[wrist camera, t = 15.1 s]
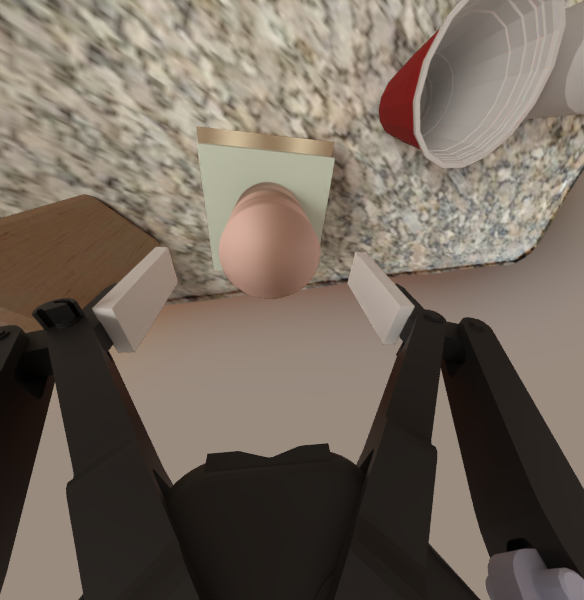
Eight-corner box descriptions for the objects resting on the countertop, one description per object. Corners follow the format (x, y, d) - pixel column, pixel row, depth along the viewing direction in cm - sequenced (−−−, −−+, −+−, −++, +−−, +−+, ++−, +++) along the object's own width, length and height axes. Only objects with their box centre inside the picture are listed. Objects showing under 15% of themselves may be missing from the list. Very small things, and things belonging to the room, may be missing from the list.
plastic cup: (419, 168, 29) (494, 181, 20) (346, 149, 27) (389, 153, 18) (473, 53, 23) (620, -11, 14) (383, 17, 21) (481, -87, 12)
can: (456, 96, 25) (573, 67, 16) (520, 8, 22) (724, -99, 12) (489, 136, 28) (607, 133, 18) (551, 64, 24) (738, 13, 15)
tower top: (221, 253, 29) (214, 270, 25) (209, 143, 22) (196, 143, 18) (308, 256, 31) (315, 274, 27) (323, 155, 24) (335, 158, 20)
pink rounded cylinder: (238, 252, 24) (226, 300, 17) (229, 180, 20) (209, 203, 13) (300, 251, 25) (315, 297, 17) (304, 183, 21) (326, 205, 13)
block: (165, 242, 32) (62, 344, 16) (133, 284, 35) (23, 403, 19) (87, 189, 27) (-173, 257, 11) (60, 244, 31) (-168, 357, 14)
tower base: (220, 244, 33) (213, 257, 29) (207, 129, 25) (196, 126, 21) (308, 248, 35) (314, 261, 31) (323, 142, 27) (333, 142, 23)
